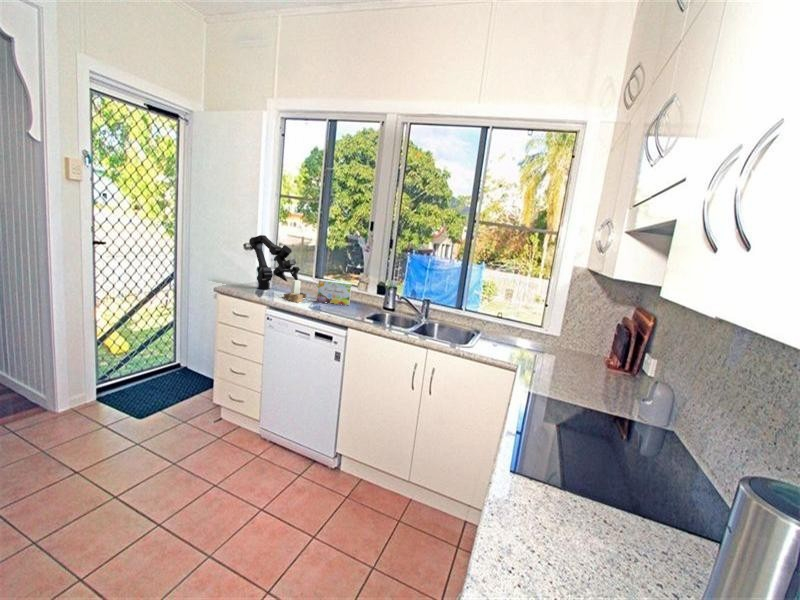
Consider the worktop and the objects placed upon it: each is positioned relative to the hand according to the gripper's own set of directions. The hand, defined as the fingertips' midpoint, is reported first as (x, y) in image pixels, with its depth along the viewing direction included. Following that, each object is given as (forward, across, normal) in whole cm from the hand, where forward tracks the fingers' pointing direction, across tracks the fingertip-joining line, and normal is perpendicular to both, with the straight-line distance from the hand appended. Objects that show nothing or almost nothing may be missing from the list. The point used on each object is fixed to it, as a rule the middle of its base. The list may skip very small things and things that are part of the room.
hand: (292, 280), depth 253 cm
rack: (+11, 0, +5) cm, 12 cm away
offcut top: (+15, -6, -2) cm, 16 cm away
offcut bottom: (+16, -6, 0) cm, 17 cm away
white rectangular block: (+11, 0, +5) cm, 12 cm away
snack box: (+27, +13, -10) cm, 32 cm away
